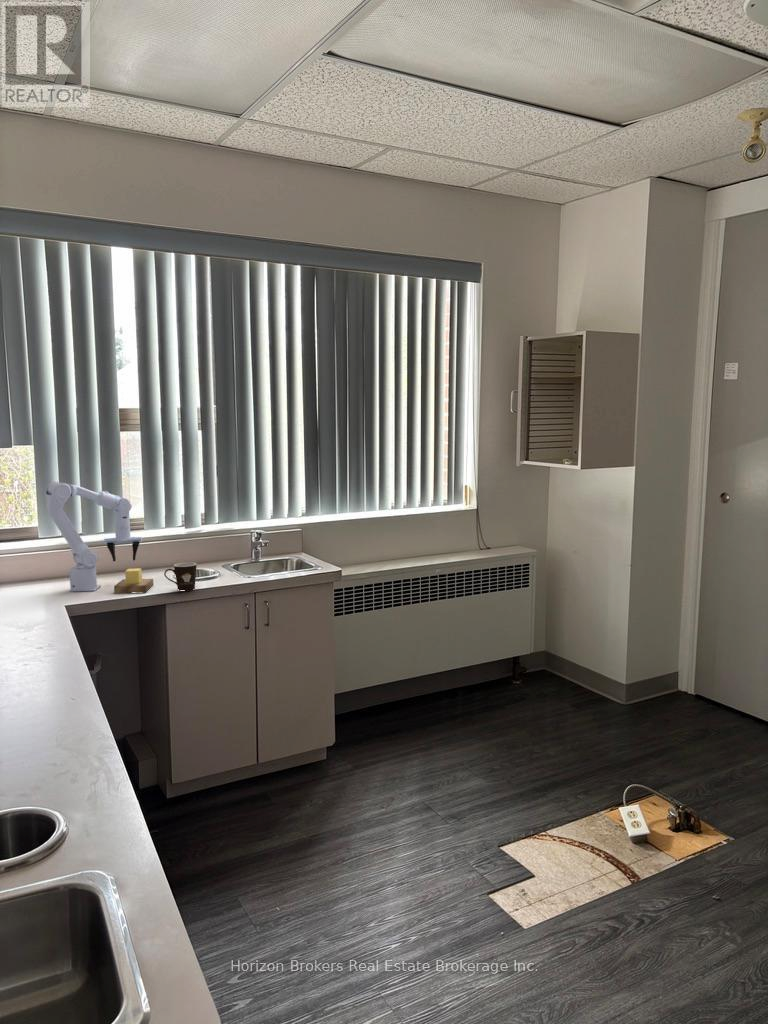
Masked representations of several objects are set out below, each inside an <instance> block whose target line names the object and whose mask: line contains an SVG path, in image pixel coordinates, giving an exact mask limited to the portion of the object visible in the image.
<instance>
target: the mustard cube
mask: <svg viewBox="0 0 768 1024" xmlns="http://www.w3.org/2000/svg"><path fill="white" fill-rule="evenodd" d="M124 573H125V579H126V584H139V583H140V582H141V581H142V579H143V574H142V567H141V568H138V567H137V568H127V569H126V570H125V572H124Z"/></svg>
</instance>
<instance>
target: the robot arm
mask: <svg viewBox="0 0 768 1024" xmlns="http://www.w3.org/2000/svg"><path fill="white" fill-rule="evenodd" d="M44 495H45V505H46V509H45V510H46V512H47V513H48V515H49V516H50V518H51V520H52V521H53V522H54V525H56V527H57V529H58V530H59V532H60V533H61V535H62V536H63V538H64V540H65V542H66V543H67V544H68V545H69V547H70V552H71V553H72V556H73V561H74V562H75V563H76V565H75V567H71V569H70V570H69V585H70V587H69V588H70V589H69V592H94V591H96V590H98V589H100V588H101V585H98V581H97V579H98V578H97V563H98V559H99V557H98V555H97V553H96V552H94V551H92V550H91V549H90V547H89V546H88V545H87V544H86V543H85V542H84V541H83V539H82V538H81V536H80V534H79V533H78V531H77V529H76V527H74V525H73V524H72V522H71V520H70V519H69V517H68V516H67V514H66V512H65V511H64V506H65V503H66V502H67V501H68V500H69V498H70V497H76V496H79V497H83V498H86V499H89V500H93V501H94V502H95V505H97V506H100V507H103V508H106V509H110V510H113V512H114V513H113V514H114V529H115V532H114V533H115V537H108V538H104V539H103V543H104V545H106V547H107V549H108V551H109V553H110V554H111V557H112V562H116V561H117V560H116V559H117V558H116V544H128V543H131V546H132V561H133V562H134V561H136V555H137V552H138V549H139V545H140V543H143V537H142V536H138V537H137V536H131V523H130V521H131V520H130V517H131V516H130V511H131V509H132V504H131V501H130V500H129V499H128V498H124V497H120V495H119V494H116V495H115V494H112V493H109V491H108V490H104V491H103V490H101V491H99V492H96V491H92V490H90V489H87V488H85V487H82V486H79V485H76V484H71V483H70V484H69V483H66V482H59V481H52V482H51V481H50V483H49V484H48V485H47V486H46V489H45V491H44Z"/></svg>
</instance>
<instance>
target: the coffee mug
mask: <svg viewBox="0 0 768 1024" xmlns="http://www.w3.org/2000/svg"><path fill="white" fill-rule="evenodd" d="M197 565H198V564H197V563H196V562H179V563H175V564H173V568H174V569H173V568H167V569H165V571H164V573H163V575H164V577H165V578H166V580H168V581H170V582H172V583H174V584H175V585H176V587H177V590H178V589H179V590H185V591H187V592H192V591H191V590H193V589H196V577H197ZM168 571H171V572H172V573H173V574H174V575H175V579H176V581H174V580H173V579H171V578H169V577H168V576H167V575H166V574H167V572H168ZM193 591H194V590H193Z"/></svg>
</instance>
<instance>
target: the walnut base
mask: <svg viewBox="0 0 768 1024" xmlns="http://www.w3.org/2000/svg"><path fill="white" fill-rule="evenodd" d="M153 585H154V578H142V581H141V582H140V583H139V584H126V578H125V579H124V578H123V579H121V580H120V581H119V582H117V583H116V584H114V587H113V589H114V590H113V591H114V594H116V593H121V594H133V593H132V592H147V591H148V590H149V589H150V588H151V587H152V586H153ZM153 587H154V586H153ZM153 587H152V588H153ZM152 588H151V589H152ZM151 589H150V590H151ZM150 590H149V591H150ZM149 591H148V592H149ZM148 592H147V593H148Z"/></svg>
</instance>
